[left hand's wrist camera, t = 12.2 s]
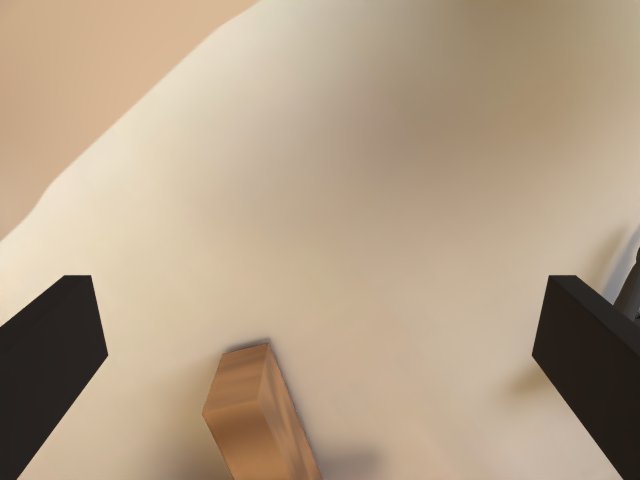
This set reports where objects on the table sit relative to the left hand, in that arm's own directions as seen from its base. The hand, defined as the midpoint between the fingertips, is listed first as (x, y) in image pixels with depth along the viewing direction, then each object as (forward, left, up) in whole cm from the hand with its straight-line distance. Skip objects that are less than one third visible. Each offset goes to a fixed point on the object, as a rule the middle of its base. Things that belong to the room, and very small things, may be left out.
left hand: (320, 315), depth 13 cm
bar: (+25, +19, -26) cm, 41 cm away
